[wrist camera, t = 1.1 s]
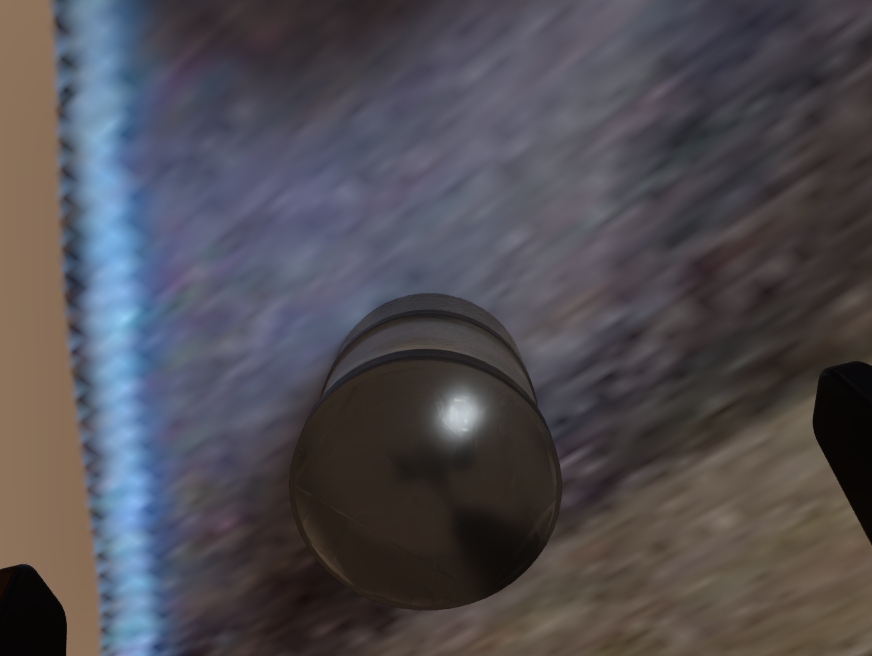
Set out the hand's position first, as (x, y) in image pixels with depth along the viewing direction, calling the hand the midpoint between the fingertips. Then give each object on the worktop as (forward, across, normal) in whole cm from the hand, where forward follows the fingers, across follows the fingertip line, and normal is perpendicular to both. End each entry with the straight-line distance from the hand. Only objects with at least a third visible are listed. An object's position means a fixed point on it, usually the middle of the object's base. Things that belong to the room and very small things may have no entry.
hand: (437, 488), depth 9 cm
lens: (+10, 0, +7) cm, 12 cm away
